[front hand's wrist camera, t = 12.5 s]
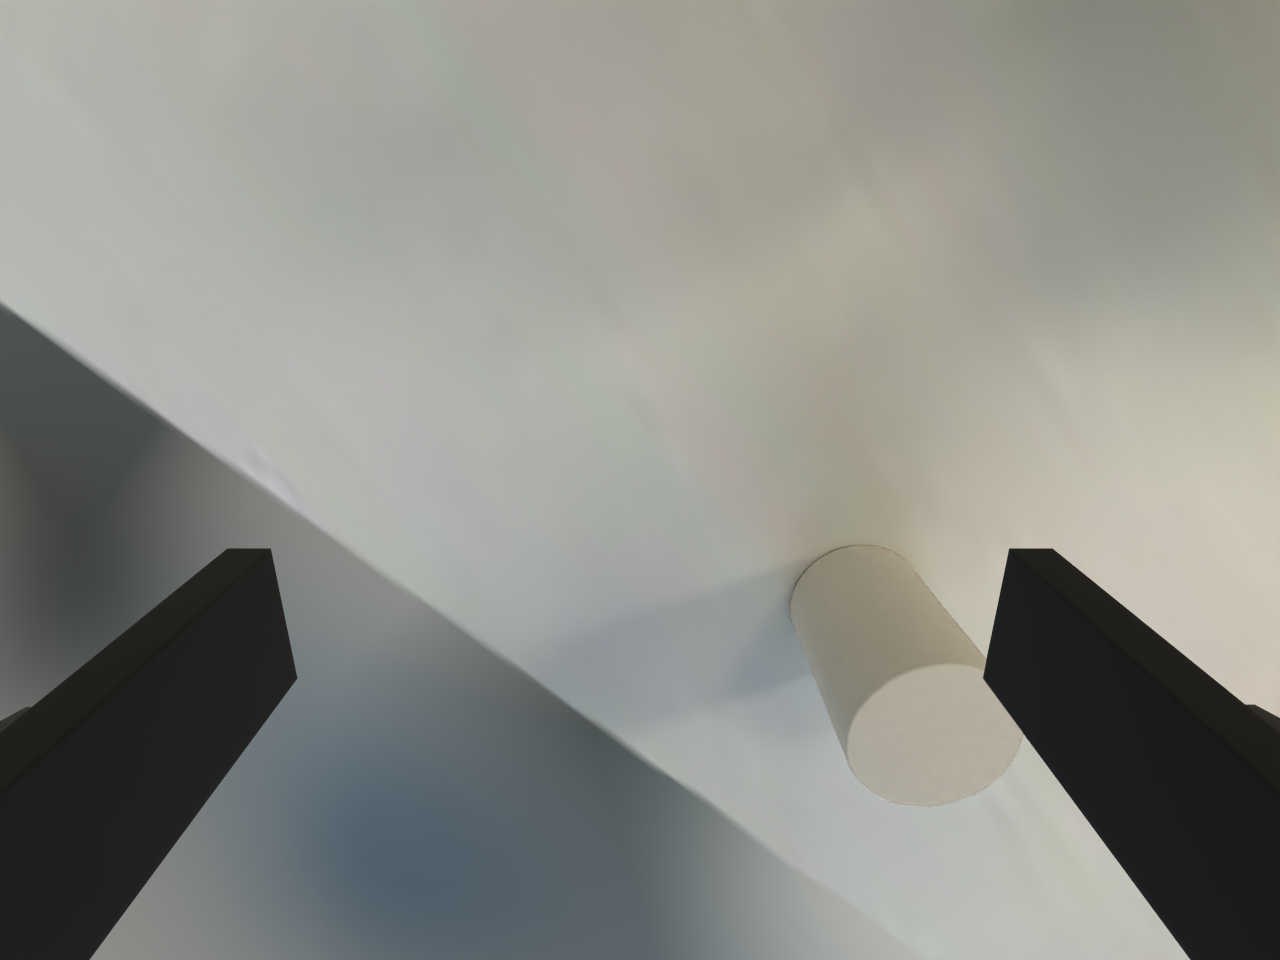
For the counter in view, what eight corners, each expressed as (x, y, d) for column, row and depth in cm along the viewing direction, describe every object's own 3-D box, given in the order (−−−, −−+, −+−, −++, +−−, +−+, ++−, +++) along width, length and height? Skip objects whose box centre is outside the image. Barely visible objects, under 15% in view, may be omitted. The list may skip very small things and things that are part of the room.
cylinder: (762, 611, 36) (809, 750, 26) (856, 518, 34) (941, 631, 24) (854, 681, 37) (929, 835, 28) (948, 595, 35) (1061, 729, 26)
